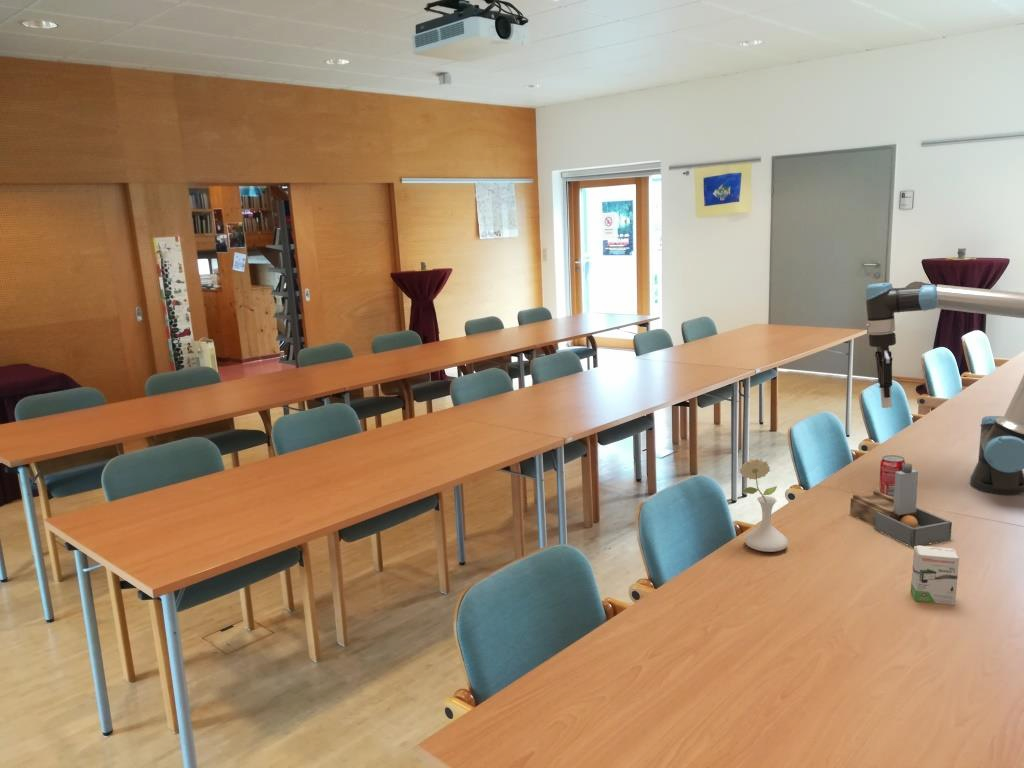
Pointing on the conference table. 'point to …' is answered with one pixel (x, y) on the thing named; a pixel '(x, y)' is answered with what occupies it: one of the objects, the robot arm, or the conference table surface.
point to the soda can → (889, 473)
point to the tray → (924, 533)
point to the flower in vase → (765, 534)
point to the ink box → (934, 575)
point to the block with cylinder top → (905, 490)
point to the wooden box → (874, 507)
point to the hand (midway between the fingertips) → (886, 407)
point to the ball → (909, 521)
